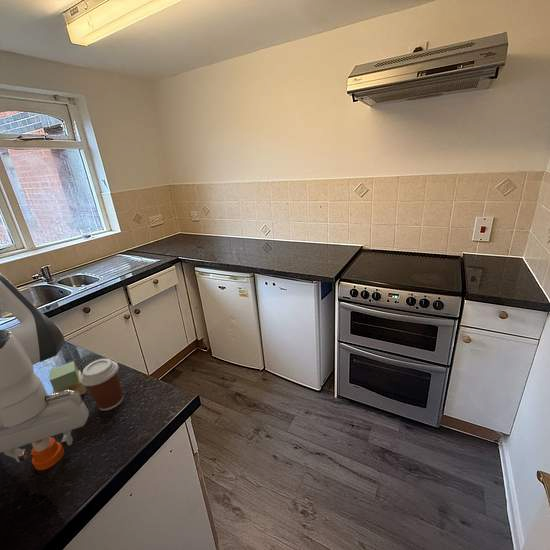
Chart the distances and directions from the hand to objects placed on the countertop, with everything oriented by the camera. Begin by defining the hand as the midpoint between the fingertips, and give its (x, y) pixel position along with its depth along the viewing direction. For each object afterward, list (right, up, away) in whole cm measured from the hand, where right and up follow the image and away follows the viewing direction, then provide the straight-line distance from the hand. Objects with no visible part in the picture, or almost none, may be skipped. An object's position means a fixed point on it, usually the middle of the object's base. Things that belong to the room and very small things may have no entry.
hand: (46, 451), depth 67 cm
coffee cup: (+6, +4, +16) cm, 17 cm away
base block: (-9, +5, +21) cm, 24 cm away
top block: (-9, +9, +20) cm, 23 cm away
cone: (0, -2, +1) cm, 2 cm away
